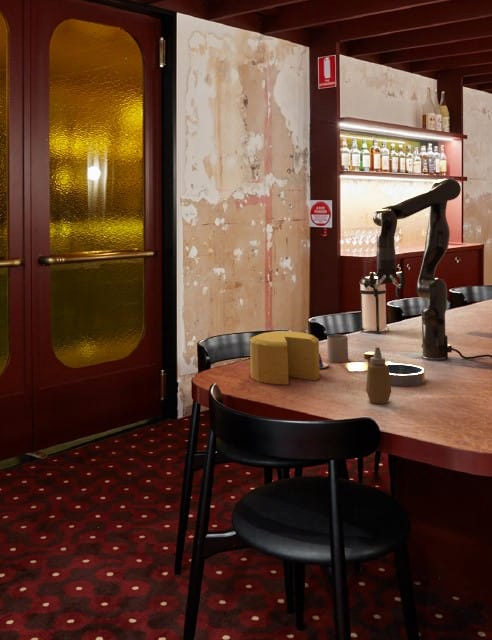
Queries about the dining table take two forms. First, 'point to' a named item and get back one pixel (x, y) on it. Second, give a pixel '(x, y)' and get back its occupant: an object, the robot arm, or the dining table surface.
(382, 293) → the coffee press
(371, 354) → the mushroom
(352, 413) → the dining table surface
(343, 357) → the cup
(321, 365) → the pudding
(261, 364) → the cheese
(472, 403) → the dining table surface
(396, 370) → the bowl
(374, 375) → the squeeze bottle
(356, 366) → the board
